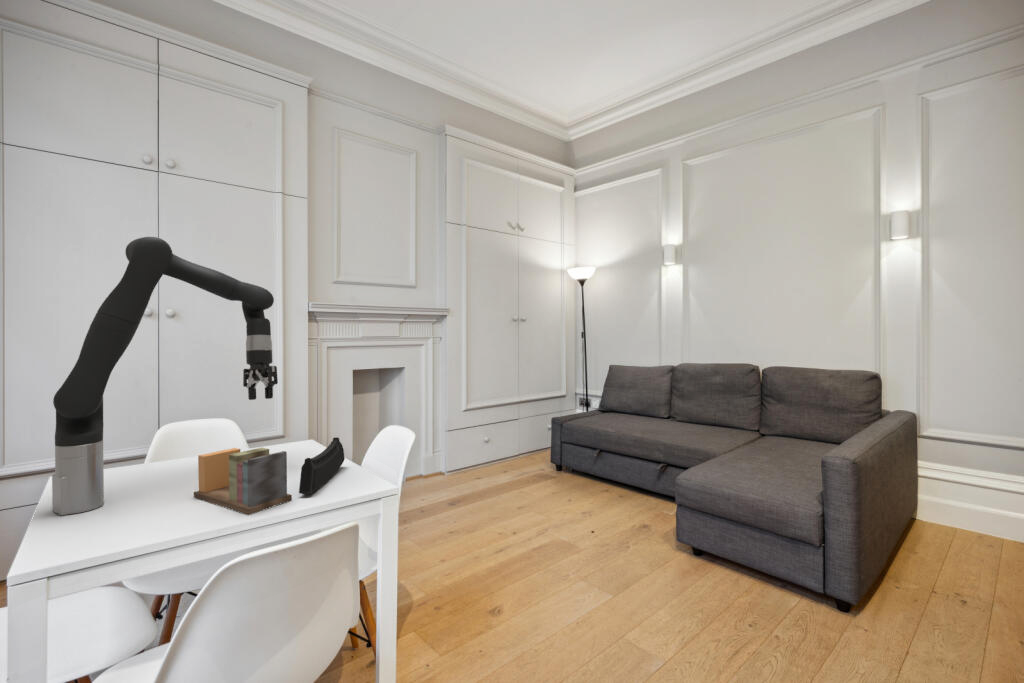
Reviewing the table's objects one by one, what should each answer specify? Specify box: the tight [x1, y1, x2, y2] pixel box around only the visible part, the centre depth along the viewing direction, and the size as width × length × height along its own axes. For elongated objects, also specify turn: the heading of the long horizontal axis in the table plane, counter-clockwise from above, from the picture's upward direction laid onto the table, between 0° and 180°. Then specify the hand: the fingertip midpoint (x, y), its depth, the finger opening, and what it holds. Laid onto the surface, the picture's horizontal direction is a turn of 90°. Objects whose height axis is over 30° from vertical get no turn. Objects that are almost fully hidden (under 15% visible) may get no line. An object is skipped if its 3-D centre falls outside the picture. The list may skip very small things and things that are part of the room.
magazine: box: [298, 437, 346, 495], centre depth 143 cm, size 17×3×30 cm
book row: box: [193, 447, 293, 516], centre depth 128 cm, size 12×26×14 cm, turn 60°
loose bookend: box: [197, 447, 241, 493], centre depth 133 cm, size 10×3×10 cm, turn 150°
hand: (260, 399), depth 151 cm, fingers open, 8 cm apart
